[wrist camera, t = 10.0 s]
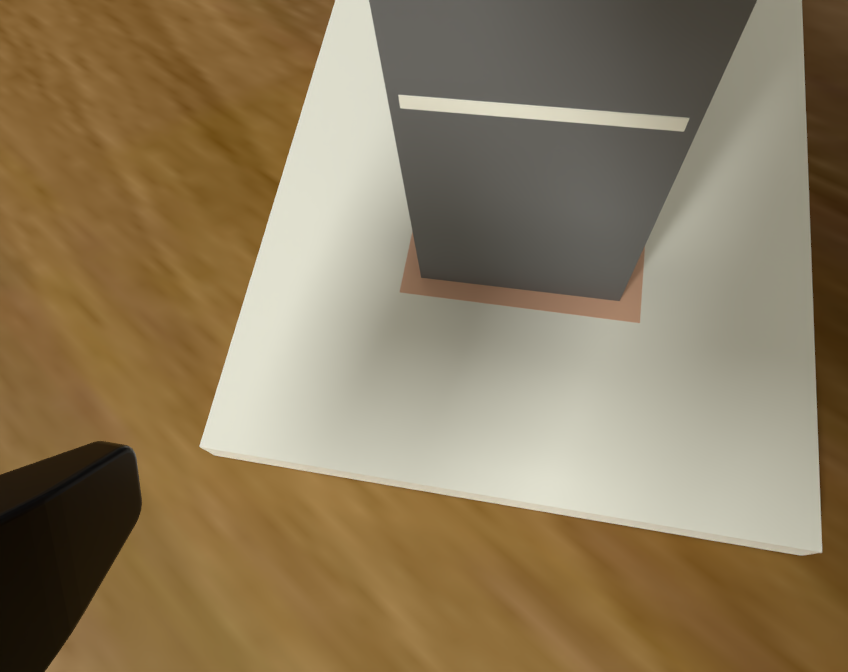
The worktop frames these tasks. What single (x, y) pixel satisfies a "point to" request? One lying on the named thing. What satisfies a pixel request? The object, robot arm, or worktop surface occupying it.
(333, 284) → the domino board
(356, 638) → the worktop surface
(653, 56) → the domino
